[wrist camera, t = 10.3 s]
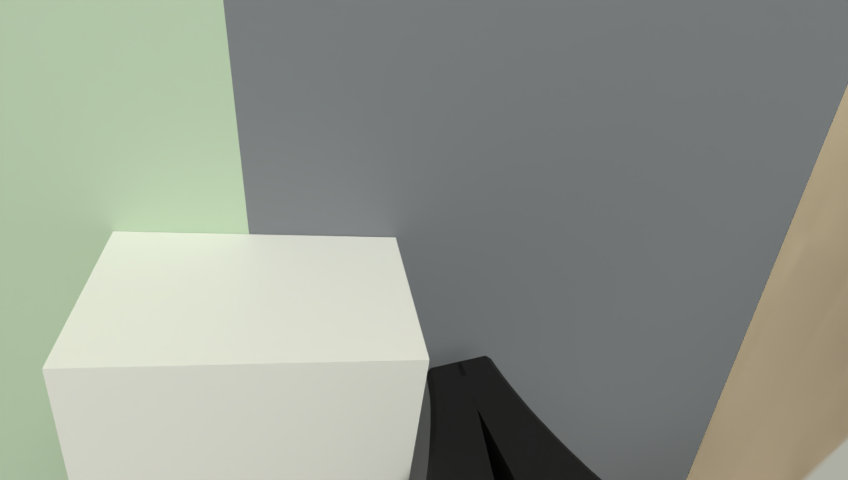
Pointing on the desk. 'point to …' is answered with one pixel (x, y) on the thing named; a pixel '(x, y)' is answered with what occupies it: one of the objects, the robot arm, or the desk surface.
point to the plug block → (240, 360)
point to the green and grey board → (434, 180)
